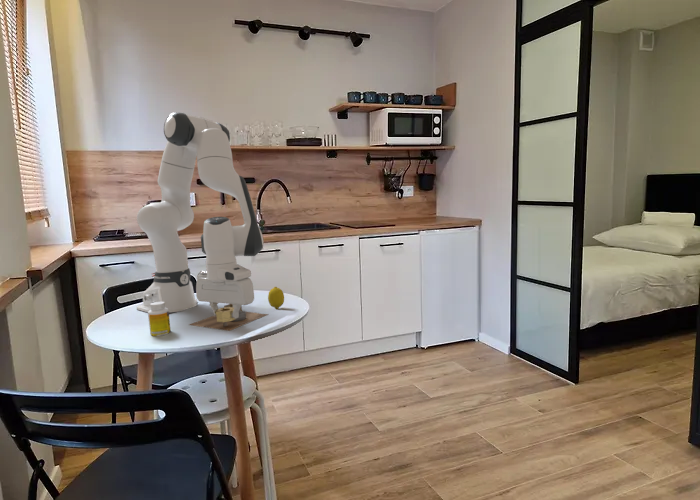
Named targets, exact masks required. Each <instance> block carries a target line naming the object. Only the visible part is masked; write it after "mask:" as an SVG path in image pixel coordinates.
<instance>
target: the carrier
mask: <svg viewBox="0 0 700 500" xmlns="http://www.w3.org/2000/svg"><path fill="white" fill-rule="evenodd" d="M226 307H233V305H232V304H225V305H224V307H223V308H226ZM242 307H243V305H241V308H240V310H239V317H238V318H236V319H235V320H232V321H229V322H217V317H216V316H214V315H212V316H209V317H206V318H203V319H200V320H197V321H196V322H193V323H189V324H188V326H194V327H201V328H208V329H214V330H222V331H229V332H230V331H232V330H234V329H237V328H239V327H240V328H241V326H244V325H246V324H249V323H251V322H254V321H256V320H260V319H261V318H264V317H267V316H268V315H269V313H260V312H258V313H257V312H251V311H246V310H243V308H242Z"/></svg>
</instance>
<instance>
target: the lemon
mask: <svg viewBox="0 0 700 500" xmlns="http://www.w3.org/2000/svg"><path fill="white" fill-rule="evenodd" d="M267 300H268V303H269V305H270V306H271V307H272V308H274V309H276V310H278V309H279V308H280V307H282V306H283V305H284V302H285V293H284V292H283V290H282V289H281V288H280V287H277V286H274V287H273V288H271V289H270V290H269V292H268V295H267Z"/></svg>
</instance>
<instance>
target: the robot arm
mask: <svg viewBox="0 0 700 500" xmlns="http://www.w3.org/2000/svg"><path fill="white" fill-rule="evenodd" d="M163 134H164V138H165V139H166V140H167V141H166V144H165V147H164V149H163V153H162V156H161V161H160V167H159V171H158V177H157V185H158V187H160V192H161V201H160V202H152V203H149V204H146V205H144V206H143V207H141V208H140V209H139V210H138V212H137V214H136V222H137V225H138V227H139V229H140V230H142V232H143V233H145V234H146V236H147V238H148V240H149V242H150V245H151V248H152V251H153V257H154V264H155V265H154V266H155V272H152V273H151V277H153V282H152V283H151V285H150V286H148V288H146V290H144V292H143V293H142V303H141V304H139V305H137V306H136V310H138V311H142V312H145V313H148V311H149V310H151V308H150V304H151V303H154V302H160V301H162V302H165V308H167V309H168V311H169V314H170V313H177V312H182V311H186V310H188V309H192V308H194V307H196V306H197V305H198V301H199V302H207V303H209V306H210V309H211V310H212V311H213V316H216V310H217V309H220V308H219V306H218V305H219V304H225V305H228V304H232V305H233V308H234V310H233V312H232V313H231V318H234V319H236V318H238V317H239V310H240V308H241V305H242V306H247V305H251V304H252V303H253V302H254V300H255V291H254V285H253V281H252V279H251V278H250V277H252V271H251V270H250V269H249V268H246V267H243V266H241V264H238V262H237V258H236V257H256V256H257V255H258V254H259V253H261V251H262V250H263V249H264V236H263V233H262V230H261V229H260V225H259V224H258V221H257V215H256V212H255V209H254V206H253V205H254V204H253V201H252V198H251V195H250V192H249V188H248V185H247V183H246V180H245V178H244V177H243V176H241V174H240V175H239V173H238V172H237V171H236V169H235V168H234V162H233V161H234V160H233V153H232V149H231V143H230V141H231V135H230V131H229V129H228V127H226V126H225V125H223V124H222V123H220V122H215V121H213V120H210V119H208V118H205V117H202V116H196V115H191V114H186V113H184V112H172V113H170V114H169V115H168V116H167V117H166V119H165V121H164V124H163ZM196 162H197V163H196ZM195 166H197V173H198V177H199V179H200V181H201V182H202V184H203V185H204V186H206V187H208V188H209V189H211V190H213V191H216V192H219V193H223V194H226V195H229V196H230V197H233V198H234V199H236V200H237V202H238V204H239V207H240V211H241V214H242V218H243V224H242V225H232V222H231V219H230V218H228V217H227V216H213V217H210V218H207V219H205V220H203V221H204V222H203V228H202V229H203V230H202V231H203V233H202V234H201V235H200V244H201V252H202V253H203V254H204V255H205V257H206V258H205V270H206V271H204V270H200V271H199V272H198V273H197V275H196V285H195V291H196V295H195V291H194V286H193V282H192V281H191V269H190V268H189V262H188V261H189V260H188V250H187V248H186V245H184V244H183V243H182V241H181V238H180V236H179V234H178V232H179V231H183V230H184V229H186V228H187V227H189V226H191V224H193V222H194V219H195V213H194V210H193V208H192V207H191V186H192V182H193V181H192V180H193V176H194V171H195ZM195 296H196V297H195ZM216 317H217V316H216Z"/></svg>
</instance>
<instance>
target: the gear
mask: <svg viewBox="0 0 700 500" xmlns="http://www.w3.org/2000/svg"><path fill="white" fill-rule="evenodd" d="M233 310H234V308H233V307H226V308H224V307H220V308H219V309H217V310H216V316H217V322H229V321H232V320H235V319H234V318H231V313H232V312H233Z"/></svg>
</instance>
